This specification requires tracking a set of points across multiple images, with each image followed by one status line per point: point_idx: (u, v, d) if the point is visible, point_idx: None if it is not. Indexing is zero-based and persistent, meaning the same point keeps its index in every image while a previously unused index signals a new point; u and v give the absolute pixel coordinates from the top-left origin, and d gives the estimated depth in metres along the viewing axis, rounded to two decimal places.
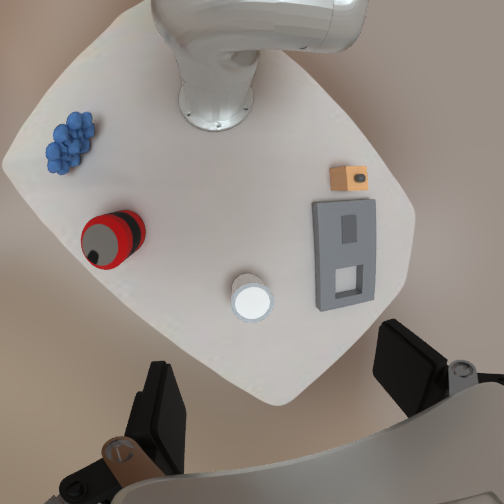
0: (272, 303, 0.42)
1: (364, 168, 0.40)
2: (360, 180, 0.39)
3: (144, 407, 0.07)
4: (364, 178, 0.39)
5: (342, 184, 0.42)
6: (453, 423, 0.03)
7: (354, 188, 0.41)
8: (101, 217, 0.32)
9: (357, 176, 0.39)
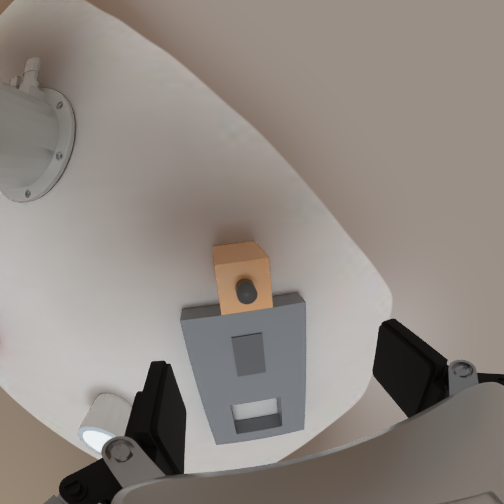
0: None
1: (262, 262, 0.20)
2: (243, 300, 0.19)
3: (144, 407, 0.07)
4: (254, 295, 0.19)
5: None
6: (453, 423, 0.03)
7: (237, 308, 0.20)
8: None
9: (237, 290, 0.19)
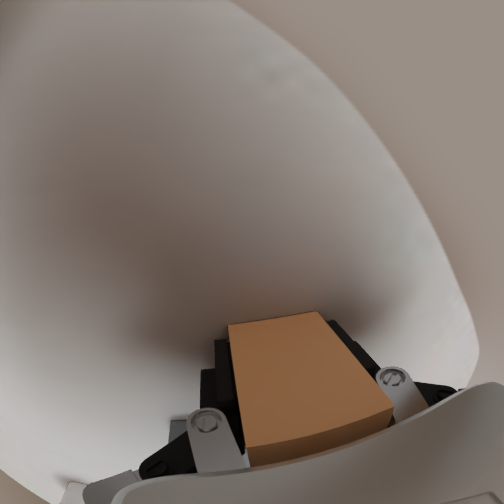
0: None
1: (376, 419, 0.06)
2: None
3: (221, 378, 0.08)
4: None
5: None
6: (453, 423, 0.03)
7: None
8: None
9: None
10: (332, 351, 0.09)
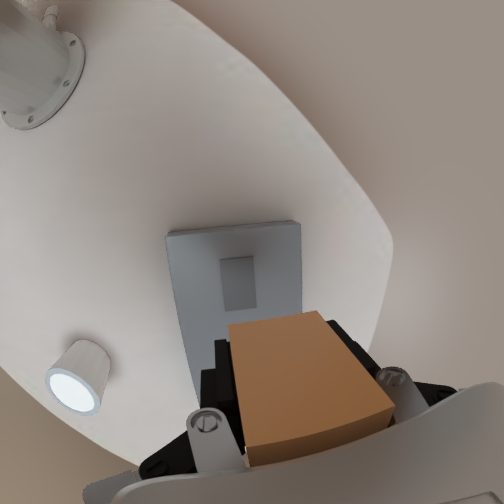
0: (97, 399, 0.21)
1: (377, 419, 0.06)
2: None
3: (222, 378, 0.08)
4: None
5: None
6: (453, 423, 0.03)
7: None
8: None
9: None
10: (332, 351, 0.09)
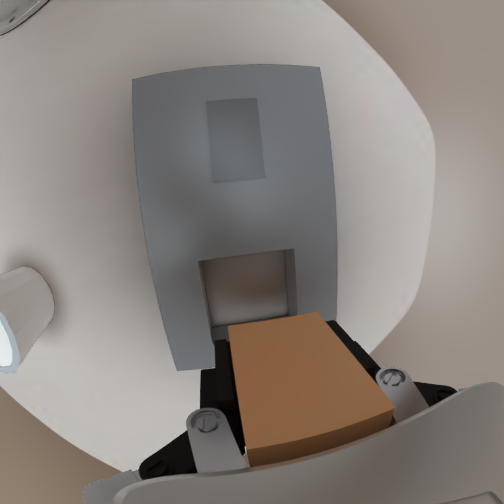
0: (13, 341, 0.11)
1: (377, 421, 0.06)
2: None
3: (222, 378, 0.08)
4: None
5: None
6: (453, 423, 0.03)
7: None
8: None
9: None
10: (332, 352, 0.09)
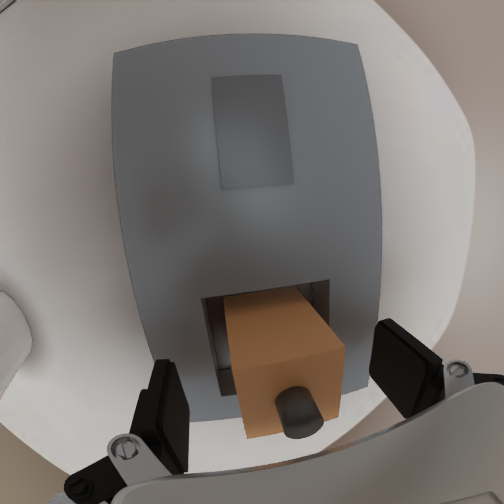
0: None
1: (331, 356, 0.09)
2: (294, 434, 0.08)
3: (149, 404, 0.07)
4: (316, 424, 0.08)
5: None
6: (453, 423, 0.03)
7: (277, 428, 0.09)
8: None
9: (283, 418, 0.08)
10: (302, 311, 0.12)
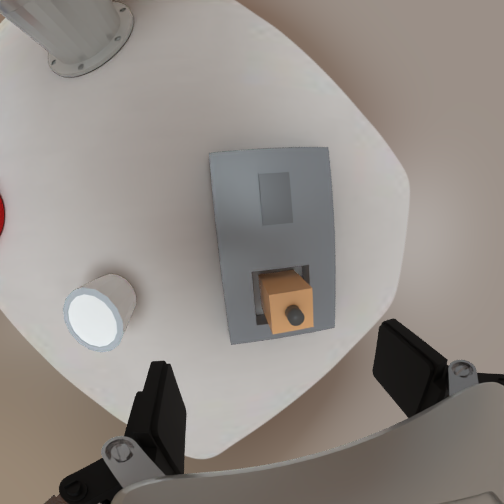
0: (120, 325, 0.22)
1: (307, 292, 0.24)
2: (293, 323, 0.23)
3: (144, 407, 0.07)
4: (301, 318, 0.23)
5: (268, 316, 0.26)
6: (453, 423, 0.03)
7: (286, 328, 0.24)
8: None
9: (288, 315, 0.23)
10: (296, 278, 0.27)
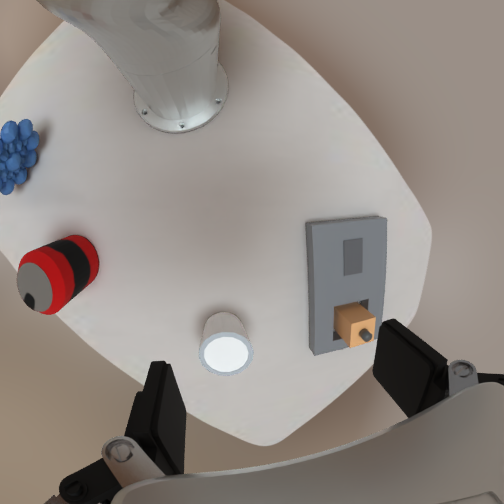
0: (251, 355, 0.32)
1: (372, 320, 0.34)
2: (365, 340, 0.33)
3: (144, 407, 0.07)
4: (370, 337, 0.33)
5: (345, 335, 0.36)
6: (453, 423, 0.03)
7: (358, 343, 0.35)
8: (34, 253, 0.22)
9: (363, 335, 0.33)
10: (361, 308, 0.37)
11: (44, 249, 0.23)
